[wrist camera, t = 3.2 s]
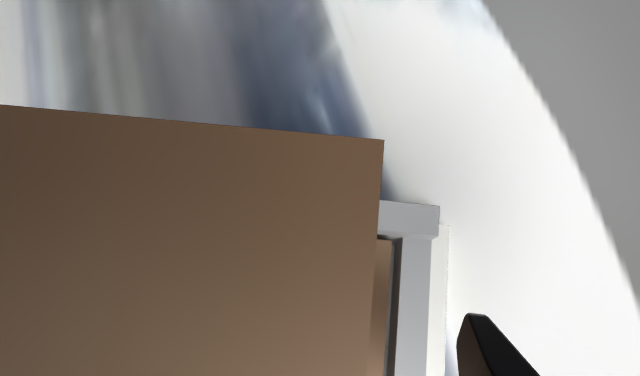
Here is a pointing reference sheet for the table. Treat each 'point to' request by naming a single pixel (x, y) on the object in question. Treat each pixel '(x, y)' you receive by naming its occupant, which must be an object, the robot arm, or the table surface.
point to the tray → (415, 288)
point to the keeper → (187, 249)
